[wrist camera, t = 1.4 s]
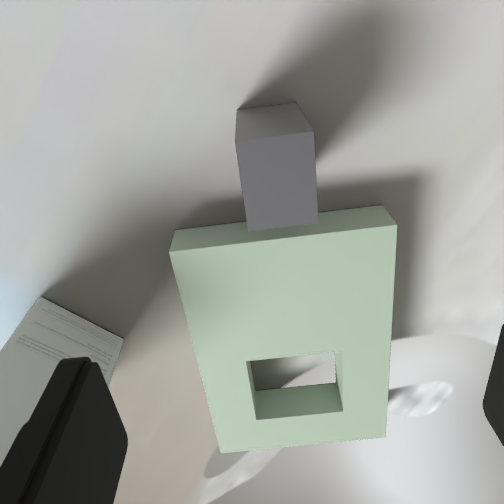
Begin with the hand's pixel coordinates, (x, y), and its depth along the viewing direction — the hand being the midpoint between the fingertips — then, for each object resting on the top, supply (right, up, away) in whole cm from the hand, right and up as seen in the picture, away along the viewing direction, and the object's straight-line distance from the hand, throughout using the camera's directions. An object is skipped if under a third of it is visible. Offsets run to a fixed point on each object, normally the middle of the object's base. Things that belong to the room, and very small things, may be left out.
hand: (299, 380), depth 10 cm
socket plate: (+2, -3, +23) cm, 23 cm away
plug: (0, +10, +16) cm, 18 cm away
